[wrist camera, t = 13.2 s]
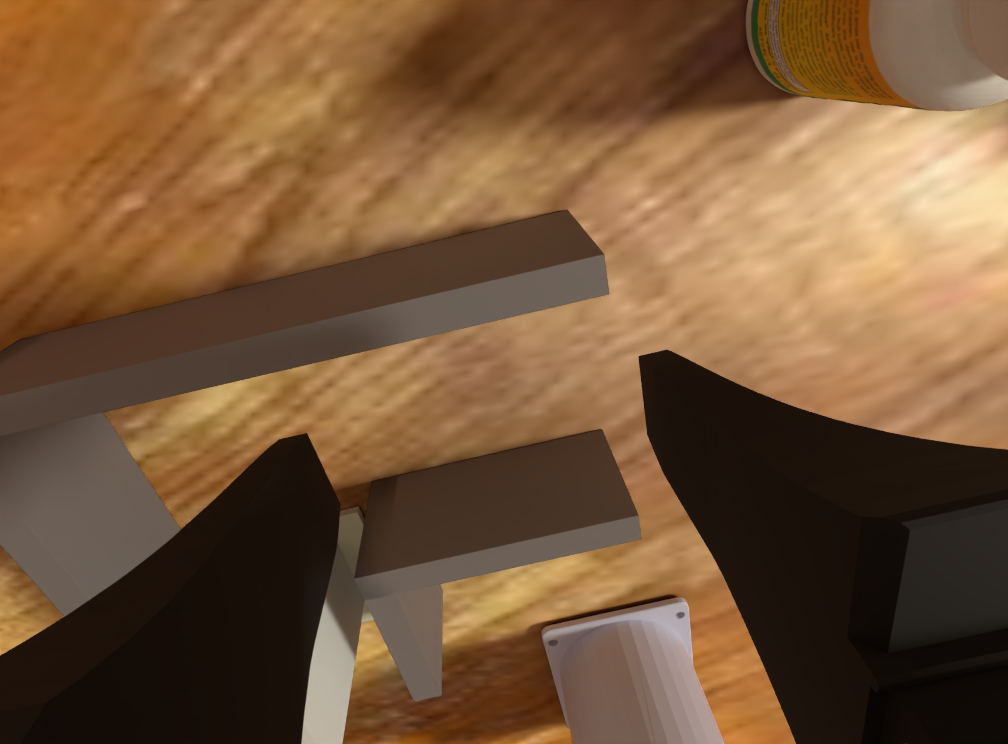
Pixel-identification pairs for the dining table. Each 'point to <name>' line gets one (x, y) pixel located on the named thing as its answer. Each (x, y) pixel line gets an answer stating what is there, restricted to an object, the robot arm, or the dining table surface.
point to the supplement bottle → (884, 50)
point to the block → (333, 658)
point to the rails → (293, 343)
